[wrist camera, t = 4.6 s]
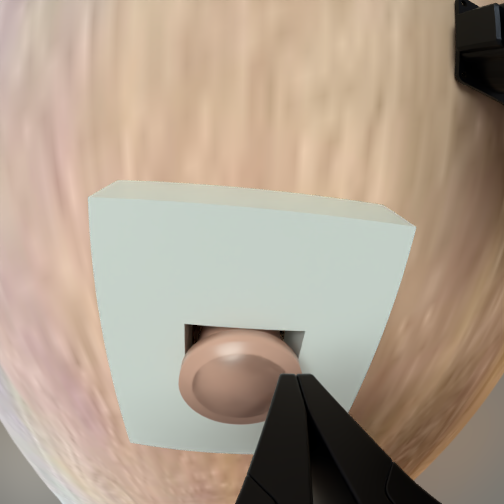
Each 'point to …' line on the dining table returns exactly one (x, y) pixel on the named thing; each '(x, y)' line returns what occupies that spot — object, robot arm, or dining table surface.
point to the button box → (236, 291)
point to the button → (235, 373)
